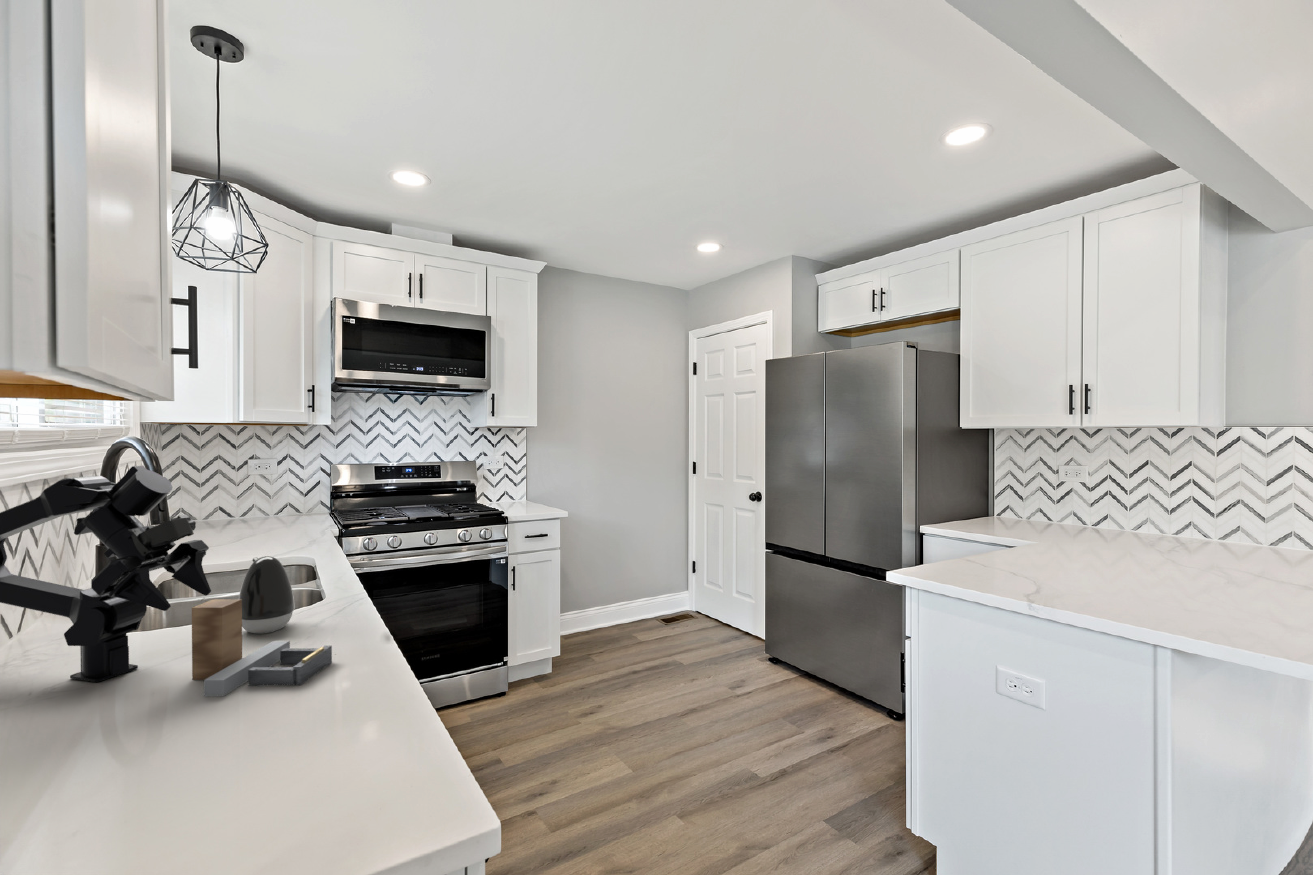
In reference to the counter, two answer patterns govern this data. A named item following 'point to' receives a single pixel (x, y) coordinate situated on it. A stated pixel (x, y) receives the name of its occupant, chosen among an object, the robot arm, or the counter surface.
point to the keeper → (304, 669)
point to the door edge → (243, 669)
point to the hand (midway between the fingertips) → (189, 600)
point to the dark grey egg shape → (266, 596)
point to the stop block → (216, 636)
